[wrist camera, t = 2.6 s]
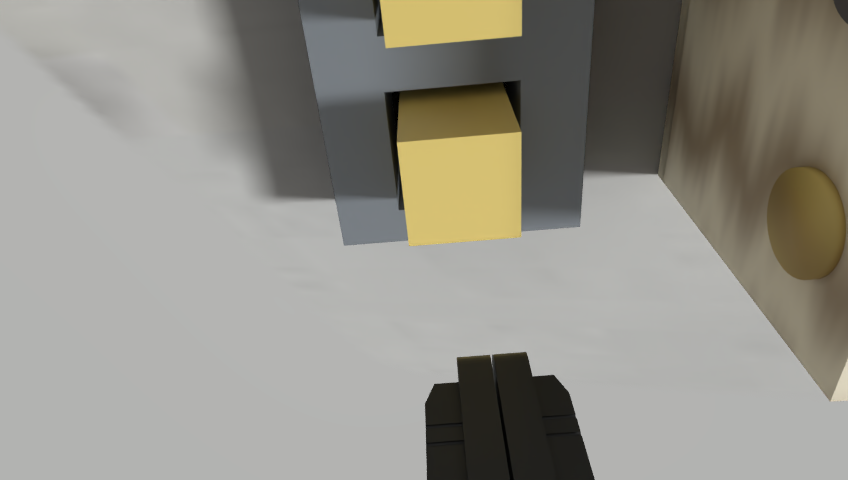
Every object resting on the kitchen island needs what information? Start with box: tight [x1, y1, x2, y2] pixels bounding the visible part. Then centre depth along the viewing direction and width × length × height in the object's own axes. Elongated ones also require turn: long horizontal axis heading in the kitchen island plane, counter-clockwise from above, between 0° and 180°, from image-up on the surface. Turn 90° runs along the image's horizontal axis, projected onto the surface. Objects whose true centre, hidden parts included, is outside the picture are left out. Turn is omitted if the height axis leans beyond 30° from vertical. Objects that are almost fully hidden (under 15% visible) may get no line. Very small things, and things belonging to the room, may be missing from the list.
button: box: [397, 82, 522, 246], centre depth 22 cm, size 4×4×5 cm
